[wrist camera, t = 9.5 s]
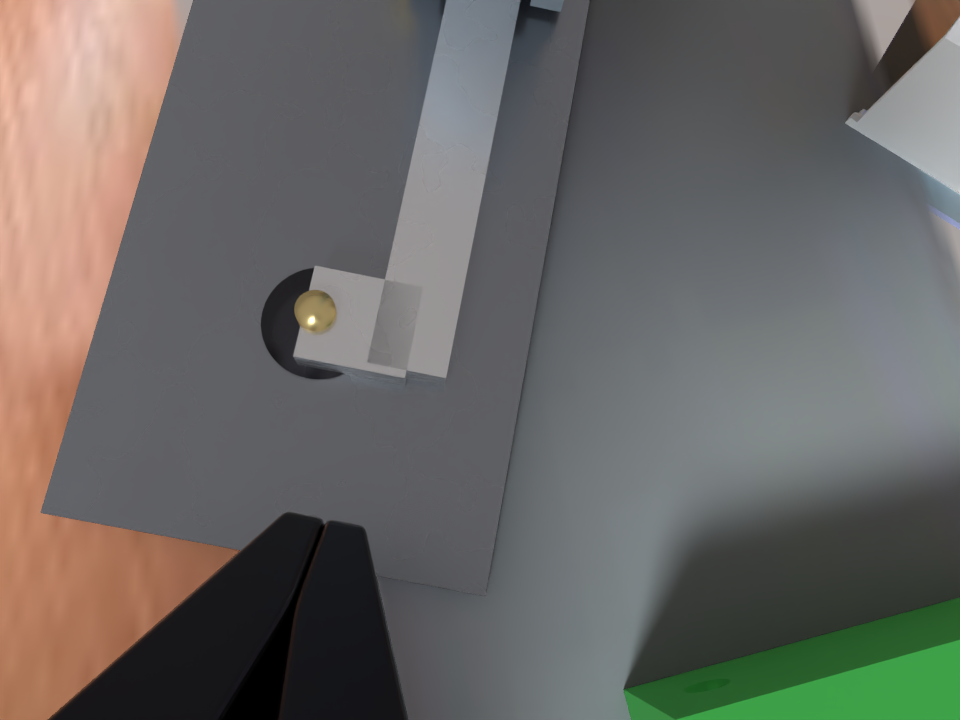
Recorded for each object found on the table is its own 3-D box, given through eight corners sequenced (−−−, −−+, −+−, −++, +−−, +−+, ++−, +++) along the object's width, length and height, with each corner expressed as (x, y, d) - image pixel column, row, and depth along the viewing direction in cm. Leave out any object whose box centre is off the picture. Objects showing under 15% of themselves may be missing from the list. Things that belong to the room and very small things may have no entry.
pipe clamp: (660, 843, 22) (725, 917, 17) (620, 687, 22) (672, 719, 18) (1065, 724, 23) (1222, 763, 19) (1014, 580, 24) (1153, 585, 19)
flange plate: (483, 595, 22) (490, 598, 20) (50, 513, 22) (17, 509, 20) (609, -122, 27) (624, -171, 26) (260, -199, 27) (250, -255, 25)
